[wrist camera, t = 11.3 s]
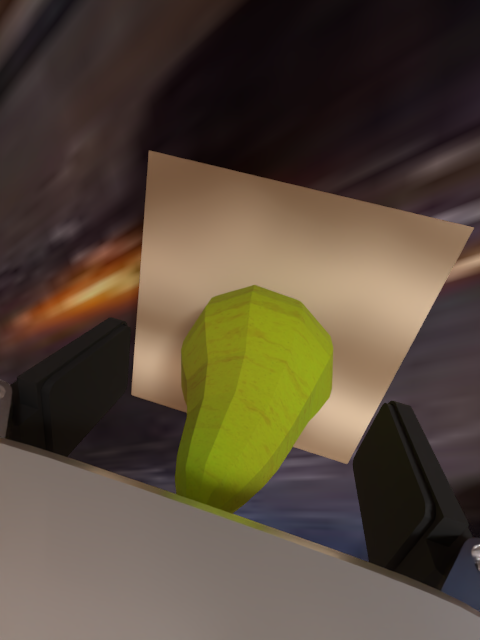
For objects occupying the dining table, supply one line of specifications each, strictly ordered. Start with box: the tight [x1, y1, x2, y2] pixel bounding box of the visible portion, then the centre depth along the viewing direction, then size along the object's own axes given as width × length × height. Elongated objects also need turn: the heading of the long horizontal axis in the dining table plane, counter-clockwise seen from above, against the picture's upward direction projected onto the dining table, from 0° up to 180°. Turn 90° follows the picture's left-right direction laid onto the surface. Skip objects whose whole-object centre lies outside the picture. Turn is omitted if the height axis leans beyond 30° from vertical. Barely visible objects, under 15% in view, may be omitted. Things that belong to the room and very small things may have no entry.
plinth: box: [131, 151, 474, 464], centre depth 18 cm, size 14×14×5 cm
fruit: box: [175, 285, 333, 514], centre depth 10 cm, size 6×6×12 cm
